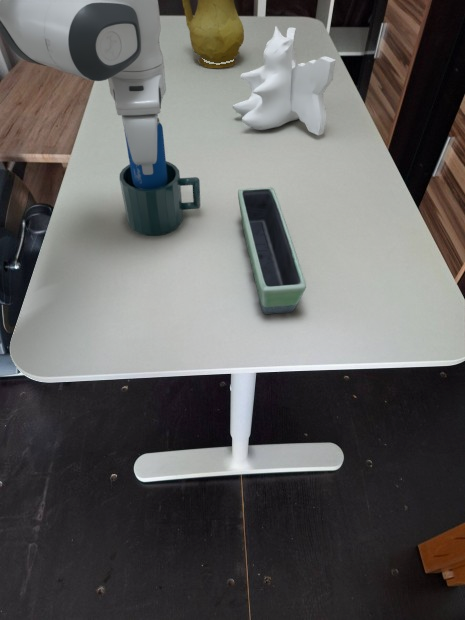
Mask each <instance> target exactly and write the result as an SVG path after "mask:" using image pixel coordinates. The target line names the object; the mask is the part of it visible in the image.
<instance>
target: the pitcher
mask: <svg viewBox="0 0 465 620" xmlns="http://www.w3.org/2000/svg"><path fill="white" fill-rule="evenodd" d="M181 1H182V7H183V9H184V16H185V18H186V19H185V21H186V27H187V29H188V31H189V39H190V43H191V47H192V50H193V52H194V53H195V54H197V55H198V56H199V57H200V58H199V59H198V61H197V62H198V64H199V65H200V66H202V67H205V68H207V69H226V68H231V67H233V66H235V65H237V61H236V59H235V58H236V57H237V56H238V55H239V54H240V51H239V50H240V47H242V45H243V43H244V40H245V30H244V29H245V28H244V25H243V22H242V20H241V18H240V16H239V14H238V11H237V8H236V5H235V0H197V6H196V9H195V12H194V14H193V9H192V5H191V1H190V0H181ZM201 57H202V58H203V59H205V60H207V61H210V62H214V63H221V62H226V61H230V60H233V59H234V61H233V62H230V63H226V64H220V65H216V64H209V63H206V62H204V60H203V59H202V58H201Z"/></svg>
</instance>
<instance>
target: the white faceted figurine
mask: <svg viewBox="0 0 465 620" xmlns="http://www.w3.org/2000/svg"><path fill="white" fill-rule="evenodd" d="M296 32H297V28H296V27H288V28H287V30H286V36H284V35H283V34H282V33H281V31H280V29H279V28H278V26H277V25H275V26H274V31H273V34H272V38H271V39H269V40H268V41H267V43H266V44H265V48H264V50H263V56H262V58H263V62H264V64H263V65H262V66H259V67H258V68H255V69H252V70H250V71H246V72H242V73H241V74H240V79H241V80H243V81H245V82H246V83H248V84H249V85H250V88H251V93H250V96H249V98H247V99H246V100H243V101H239V102H237V103H234V104H233V105H232V109H233V110H234V111H235V112H236V113H238V114H239V115H241V116H242V118H241V120H242V123H244V124H245V125H246V126H248V127H250V128H251V129H254V130H257V131H258V130H259V131H260V130H261V131H264V130H269V129H274V128H279V127H281V126H283V125H286V124H287V123H290V122H293V121H297V120H299V121H300V122H302V123H304V124H305V126H306V129H307V131H308V132H310V133H312V134H314V135H316V136H321V135H323V134H324V131H325V126H326V119H327V112H326V104H325V96H324V93H325V92H326V90H327V88H328V87H329V86H330V85H331V83H332V82H333V80H334V74H335V68H336V63H337V60H336V59H334V58H331V57H329V56H327V55H325V56H322V57H319V58H317V60H316V59H311V60H309V61H307V62H306V63H305V62H301V63H298V64H297V60H296V59H297V58H296V52H295V43H296V42H295V40H296Z"/></svg>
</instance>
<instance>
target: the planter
mask: <svg viewBox="0 0 465 620" xmlns="http://www.w3.org/2000/svg"><path fill="white" fill-rule="evenodd" d="M237 197H238V205H239V212H240V218H241V224H242V228H243V229H242V230H243V233H244V238H245V242H246V246H247V251H248V255H249V260H250V264H251V269H252V272H253V277H254V282H255V286H256V290H257V295H258V298H259V303H260V307H261V310H262V313H263V314H265V315H271V314H285V313H292V312H293V311H294V310H295V309H296V307H297V306H298V303H299V302H300V300H301V299H302V296H303V294H304V293H305V291H306V289H307V283H306V280H305V279H306V278H305V275H304V273H303V270H302V266H301V264H300V261H299V259H298V254H297V252H296V249H295V246H294V243H293V239H292V237H291V234H290V231H289V228H288V224H287V222H286V219H285V216H284V214H283V210H282V208H281V204H280V202H279V198H278V195H277V193H276V190H275V188H274V187H271V186H270V187H252V188H251V187H250V188H240V189H238V191H237Z"/></svg>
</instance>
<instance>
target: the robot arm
mask: <svg viewBox="0 0 465 620" xmlns="http://www.w3.org/2000/svg"><path fill="white" fill-rule="evenodd" d="M160 15H161V14H160V6H159V0H0V34H1V35H2V37H3V39H4V40H5V42H6V44H7V45H8V47H9V48H10V49H11V50H12V51H13V52H14V54H16V56H18V57H19V58H21V60H24V61H25V62H27V63H31V64H36V65H39V66H43V67H49V68H51V69H54V70H57V71H60V72H63V73H66V74H69V75H72V76H75V77H78V78H81V79H84V80H88V81H94V82H103V81H108V87H109V93H110V95H111V97H112V99H113V100H114V104H115V111H116V114H117V115H118V116H121V121H122V126H123V130H124V129H125V131H124V135H125V134H126V137H125V139H126V138H127V141H128V145H129V149H130V153H131V156H132V159H133V161H134V163H135V164H136V165H142V171H143V174H144V175H151V174H153V165H152V164H155V163H156V160H157V118H159V115H160V114H161V109H162V101H163V98H164V96H165V95H166V92H167V85H166V74H165V73H166V72H165V62H164V54H163V52H162V49H161V46H160V45H161V44H160V35H161V28H162V27H161V16H160Z"/></svg>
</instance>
